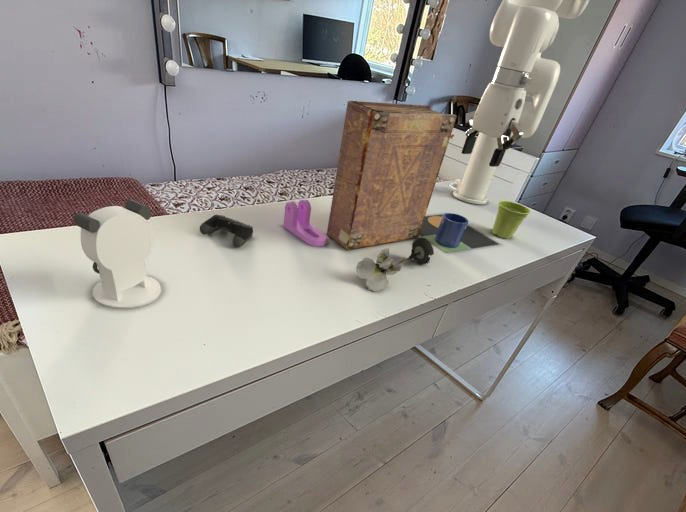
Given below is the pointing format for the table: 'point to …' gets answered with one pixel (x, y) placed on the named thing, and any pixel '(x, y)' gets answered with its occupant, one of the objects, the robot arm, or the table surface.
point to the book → (386, 172)
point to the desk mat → (467, 242)
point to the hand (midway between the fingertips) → (479, 159)
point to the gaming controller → (228, 228)
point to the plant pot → (509, 218)
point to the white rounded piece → (120, 254)
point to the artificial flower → (391, 264)
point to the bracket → (302, 223)
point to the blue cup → (451, 230)
